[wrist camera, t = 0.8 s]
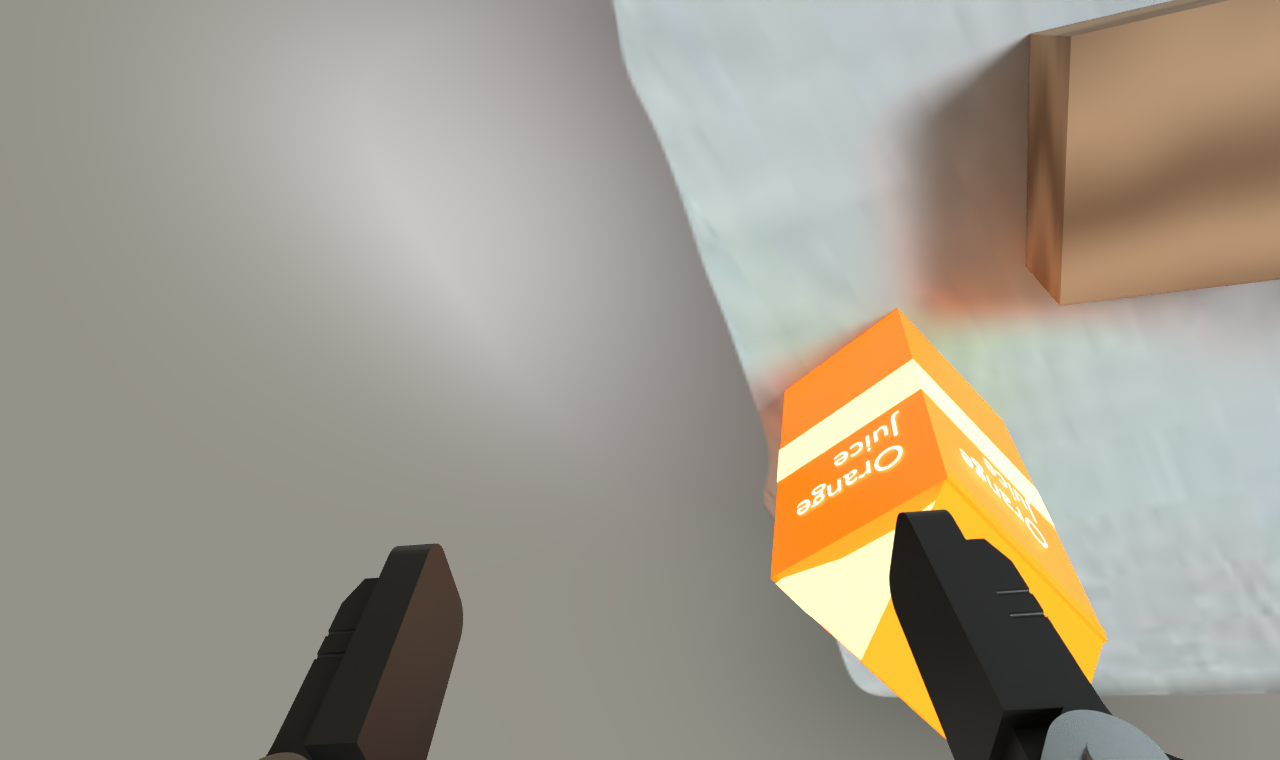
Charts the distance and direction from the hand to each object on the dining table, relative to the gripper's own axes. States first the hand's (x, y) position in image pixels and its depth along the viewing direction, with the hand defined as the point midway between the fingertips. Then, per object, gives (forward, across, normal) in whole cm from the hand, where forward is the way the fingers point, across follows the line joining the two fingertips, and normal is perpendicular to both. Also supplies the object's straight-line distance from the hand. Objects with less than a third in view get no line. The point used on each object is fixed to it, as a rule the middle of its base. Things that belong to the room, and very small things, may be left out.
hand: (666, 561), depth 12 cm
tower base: (+20, -22, -1) cm, 30 cm away
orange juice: (+22, -12, +12) cm, 28 cm away
